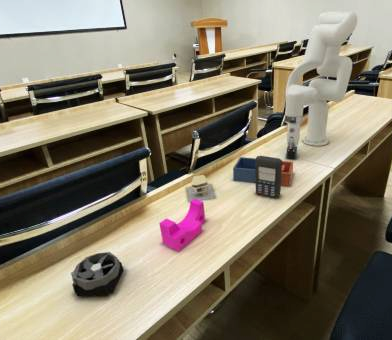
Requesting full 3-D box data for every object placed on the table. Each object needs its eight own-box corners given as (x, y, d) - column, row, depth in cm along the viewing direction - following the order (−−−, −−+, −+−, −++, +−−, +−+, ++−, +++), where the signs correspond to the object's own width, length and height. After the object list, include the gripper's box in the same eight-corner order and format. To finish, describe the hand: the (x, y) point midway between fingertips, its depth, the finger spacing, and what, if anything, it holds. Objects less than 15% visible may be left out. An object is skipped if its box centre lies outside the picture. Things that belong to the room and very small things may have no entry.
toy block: (178, 251, 88) (175, 230, 84) (163, 243, 91) (159, 223, 87) (211, 223, 99) (209, 204, 96) (196, 217, 102) (194, 198, 99)
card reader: (254, 195, 114) (253, 158, 107) (257, 189, 117) (257, 154, 110) (277, 200, 111) (279, 162, 104) (281, 194, 114) (282, 157, 107)
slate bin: (240, 168, 133) (239, 156, 130) (264, 171, 131) (264, 159, 128) (233, 180, 124) (233, 168, 121) (259, 183, 121) (259, 170, 119)
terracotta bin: (267, 171, 130) (267, 159, 128) (292, 173, 128) (293, 161, 125) (262, 183, 121) (262, 171, 119) (289, 186, 119) (290, 173, 116)
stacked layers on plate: (187, 187, 119) (185, 175, 117) (210, 184, 121) (209, 172, 118) (189, 201, 111) (187, 188, 108) (214, 198, 112) (213, 185, 110)
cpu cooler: (123, 251, 80) (108, 281, 71) (127, 267, 83) (113, 298, 74) (84, 251, 80) (63, 282, 71) (89, 267, 83) (70, 299, 74)
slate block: (287, 154, 145) (287, 145, 143) (296, 155, 144) (297, 146, 142) (286, 158, 141) (286, 149, 139) (295, 159, 140) (296, 150, 138)
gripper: (300, 125, 126) (298, 165, 135) (303, 113, 141) (301, 149, 149) (282, 124, 128) (281, 163, 136) (287, 112, 142) (285, 148, 151)
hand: (291, 156), depth 143 cm, fingers closed on slate block, 4 cm apart
